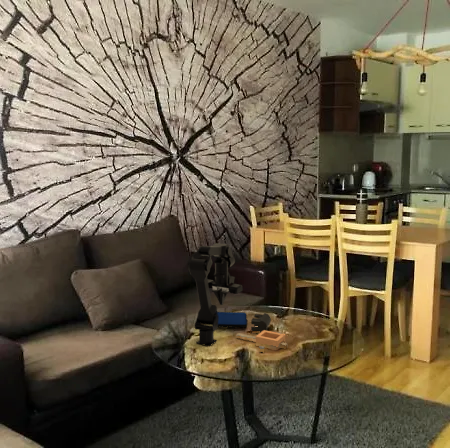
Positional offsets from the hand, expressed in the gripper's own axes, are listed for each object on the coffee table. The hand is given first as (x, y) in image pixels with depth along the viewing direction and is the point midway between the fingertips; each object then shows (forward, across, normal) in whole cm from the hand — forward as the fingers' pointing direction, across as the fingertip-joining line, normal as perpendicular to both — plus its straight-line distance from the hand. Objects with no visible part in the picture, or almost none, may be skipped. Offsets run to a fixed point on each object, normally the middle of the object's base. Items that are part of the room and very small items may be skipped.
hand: (221, 304), depth 252 cm
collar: (+11, -28, +7) cm, 31 cm away
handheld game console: (+12, -2, -4) cm, 12 cm away
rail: (+11, -24, +7) cm, 27 cm away
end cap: (+11, -17, -6) cm, 21 cm away
